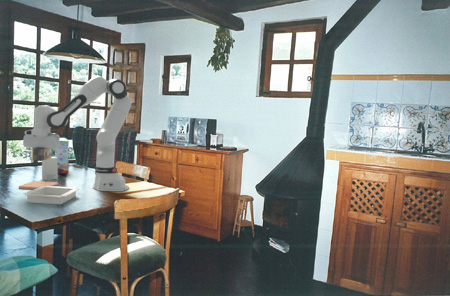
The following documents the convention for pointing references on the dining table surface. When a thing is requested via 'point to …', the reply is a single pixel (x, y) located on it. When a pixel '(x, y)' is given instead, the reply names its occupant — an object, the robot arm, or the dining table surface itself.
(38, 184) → the terracotta tile
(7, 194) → the dining table surface
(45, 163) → the skincare box
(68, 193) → the white square tray
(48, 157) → the box
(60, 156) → the snack box
